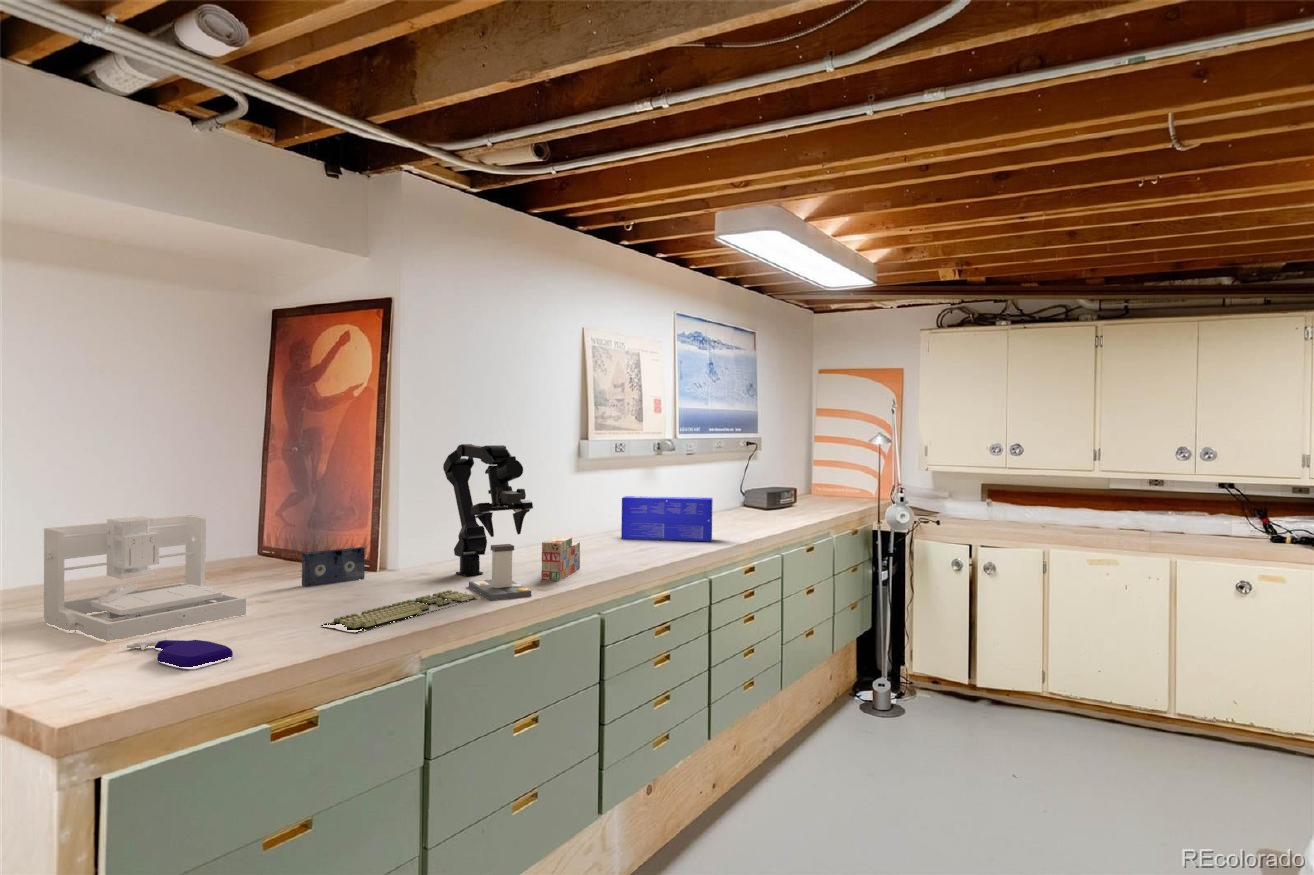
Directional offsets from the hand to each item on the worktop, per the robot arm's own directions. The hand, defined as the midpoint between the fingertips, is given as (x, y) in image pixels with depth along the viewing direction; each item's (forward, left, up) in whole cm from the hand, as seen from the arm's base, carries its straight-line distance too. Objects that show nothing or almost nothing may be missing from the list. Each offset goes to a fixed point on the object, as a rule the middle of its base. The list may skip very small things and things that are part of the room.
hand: (505, 535), depth 235 cm
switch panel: (+5, -6, -15) cm, 17 cm away
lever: (+7, -6, -14) cm, 16 cm away
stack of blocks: (-2, +25, -16) cm, 29 cm away
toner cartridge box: (-28, +108, -16) cm, 112 cm away
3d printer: (-28, -86, -16) cm, 92 cm away
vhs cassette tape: (-39, -34, -16) cm, 54 cm away
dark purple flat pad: (+8, -91, -16) cm, 92 cm away
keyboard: (+6, -37, -16) cm, 41 cm away
